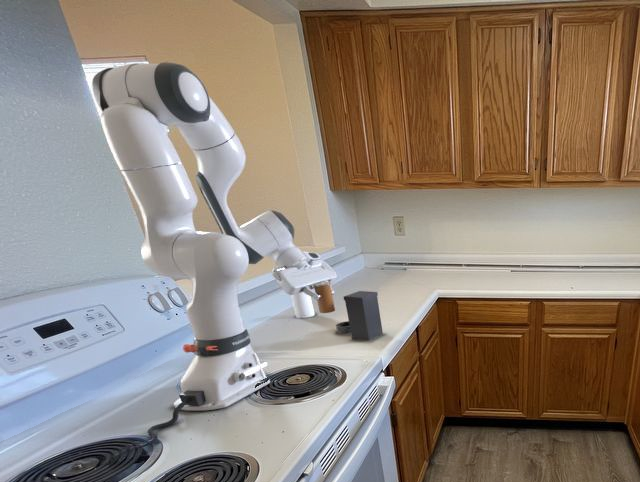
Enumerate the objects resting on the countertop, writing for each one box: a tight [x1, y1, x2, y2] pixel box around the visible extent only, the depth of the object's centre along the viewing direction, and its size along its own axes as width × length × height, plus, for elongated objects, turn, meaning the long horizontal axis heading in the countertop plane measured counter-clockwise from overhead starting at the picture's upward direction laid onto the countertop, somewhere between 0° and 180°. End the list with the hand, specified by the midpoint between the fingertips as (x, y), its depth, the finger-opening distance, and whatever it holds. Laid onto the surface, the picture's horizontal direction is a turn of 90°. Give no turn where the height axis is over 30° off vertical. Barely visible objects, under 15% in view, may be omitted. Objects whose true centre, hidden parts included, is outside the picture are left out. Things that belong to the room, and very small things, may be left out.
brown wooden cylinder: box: [313, 282, 336, 314], centre depth 133 cm, size 5×5×9 cm
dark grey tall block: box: [343, 290, 384, 342], centre depth 142 cm, size 8×7×15 cm
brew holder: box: [335, 320, 351, 335], centre depth 151 cm, size 7×7×3 cm
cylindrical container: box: [290, 292, 316, 319], centre depth 169 cm, size 7×7×25 cm
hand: (326, 296), depth 133 cm, fingers closed on brown wooden cylinder, 5 cm apart
